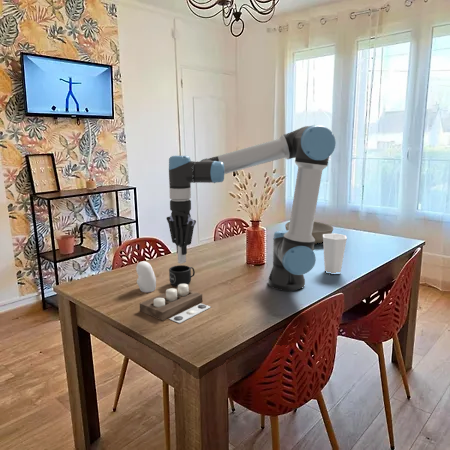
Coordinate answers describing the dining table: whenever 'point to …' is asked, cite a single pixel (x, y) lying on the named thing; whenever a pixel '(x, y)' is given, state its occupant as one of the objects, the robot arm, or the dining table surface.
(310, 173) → the robot arm
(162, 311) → the board
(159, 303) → the button left
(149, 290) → the figurine
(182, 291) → the button right
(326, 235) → the cup
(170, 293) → the button middle
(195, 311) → the card
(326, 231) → the bowl
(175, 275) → the mug
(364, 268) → the dining table surface
